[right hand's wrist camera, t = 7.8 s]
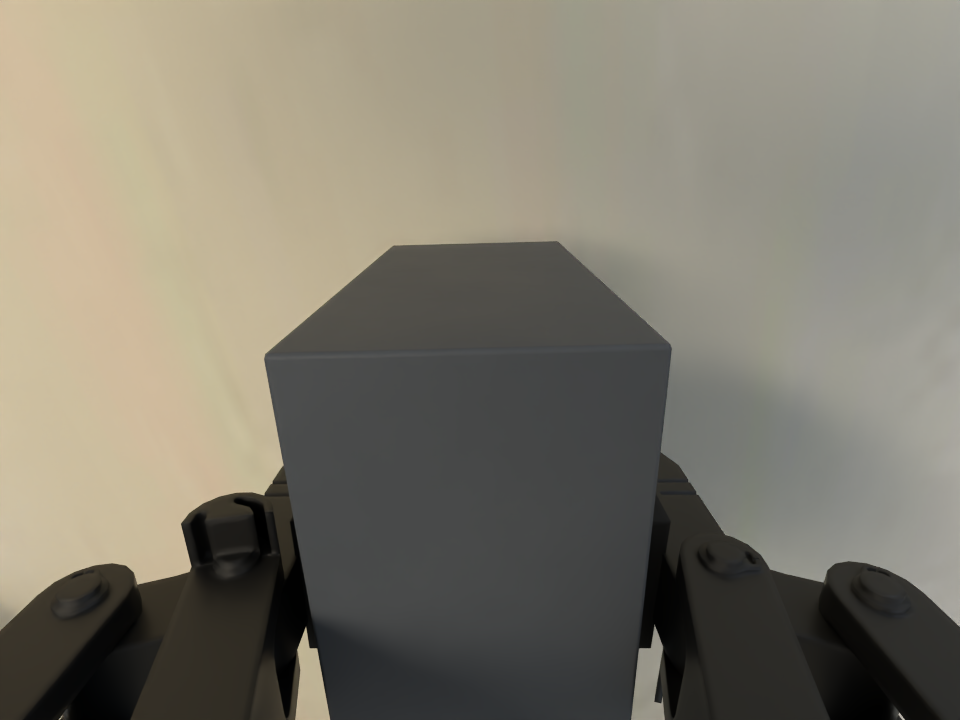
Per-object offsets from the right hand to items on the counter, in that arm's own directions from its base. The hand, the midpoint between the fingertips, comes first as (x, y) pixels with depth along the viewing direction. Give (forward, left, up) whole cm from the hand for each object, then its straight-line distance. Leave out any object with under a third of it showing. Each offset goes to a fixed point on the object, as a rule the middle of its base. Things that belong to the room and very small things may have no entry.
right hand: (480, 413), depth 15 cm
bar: (+15, -17, -1) cm, 23 cm away
